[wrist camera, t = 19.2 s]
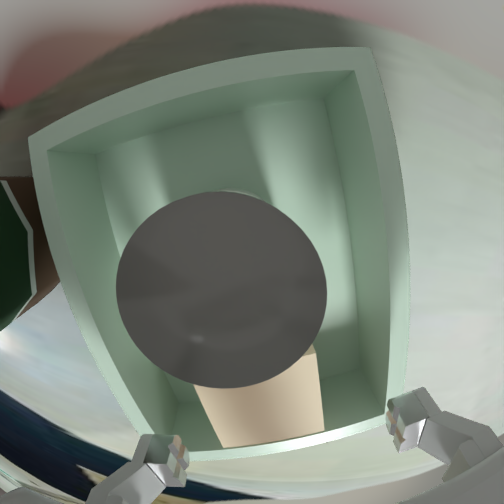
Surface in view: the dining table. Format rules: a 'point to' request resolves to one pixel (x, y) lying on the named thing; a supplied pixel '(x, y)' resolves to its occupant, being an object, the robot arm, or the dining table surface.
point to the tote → (260, 183)
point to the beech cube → (268, 406)
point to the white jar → (221, 289)
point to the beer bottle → (22, 250)
